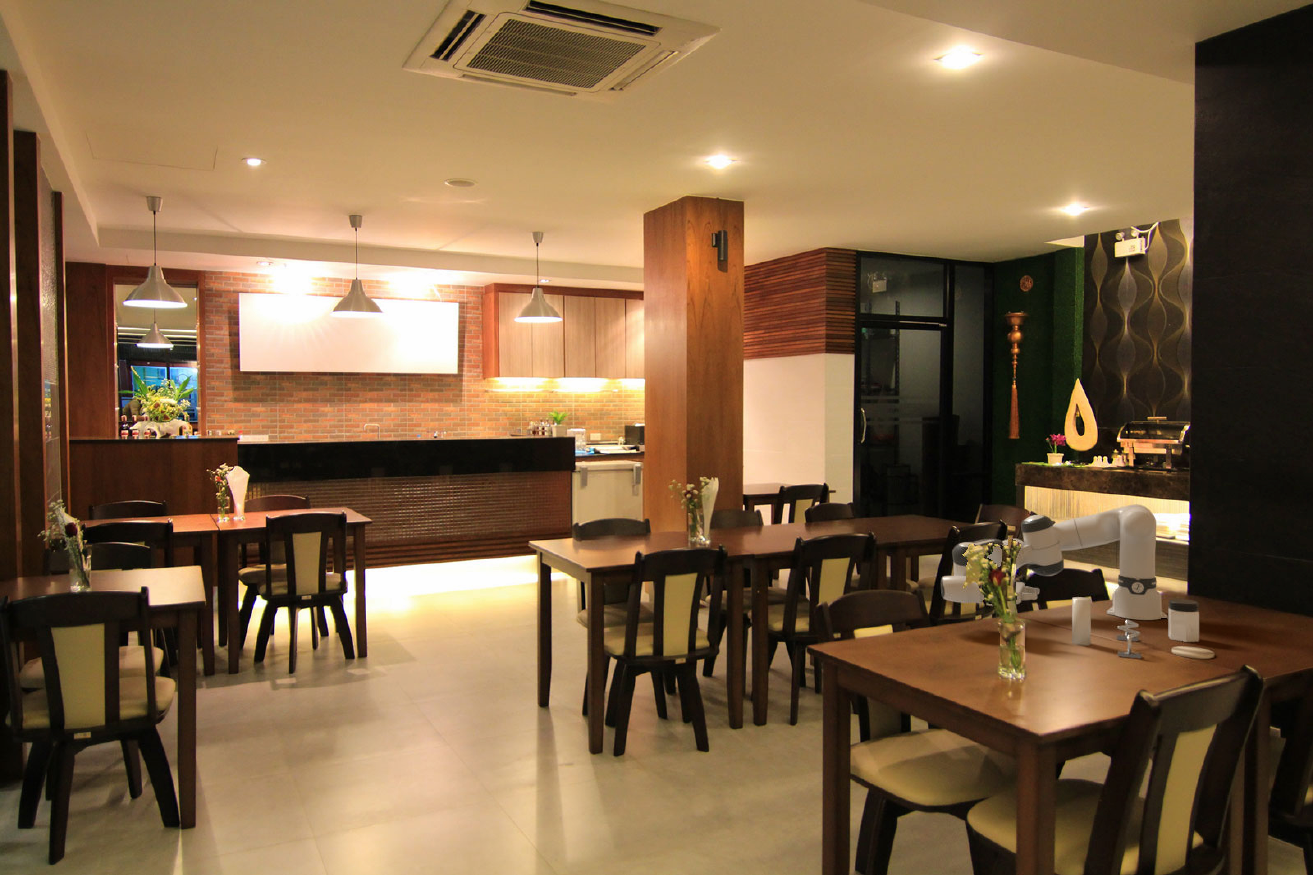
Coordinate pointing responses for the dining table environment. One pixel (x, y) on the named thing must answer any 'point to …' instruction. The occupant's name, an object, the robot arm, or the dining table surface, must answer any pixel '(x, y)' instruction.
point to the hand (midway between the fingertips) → (1038, 593)
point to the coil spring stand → (1129, 639)
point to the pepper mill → (1081, 621)
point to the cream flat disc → (1192, 652)
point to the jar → (1183, 620)
